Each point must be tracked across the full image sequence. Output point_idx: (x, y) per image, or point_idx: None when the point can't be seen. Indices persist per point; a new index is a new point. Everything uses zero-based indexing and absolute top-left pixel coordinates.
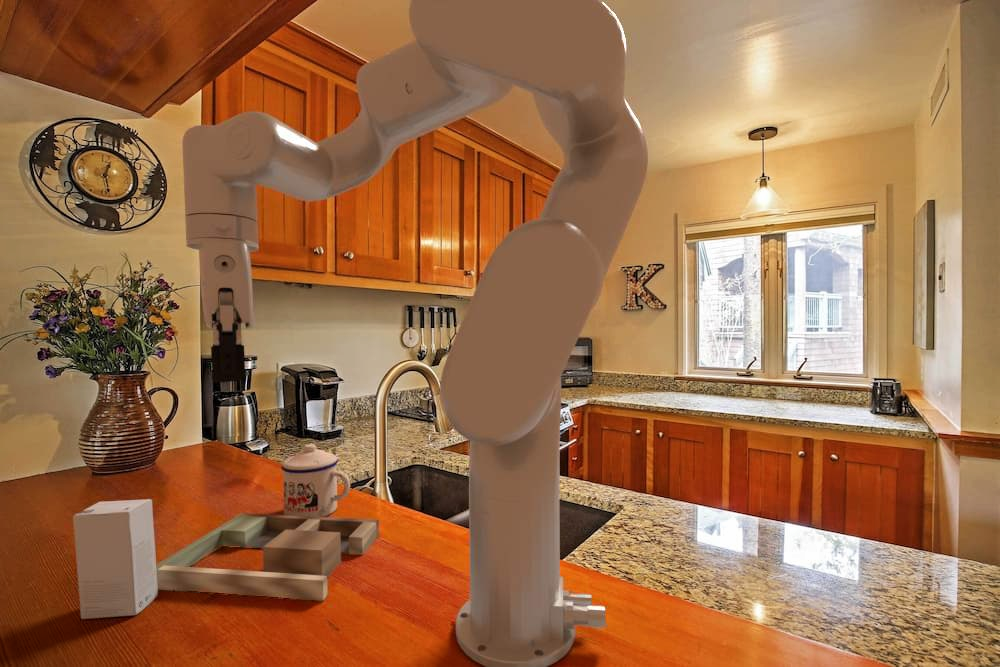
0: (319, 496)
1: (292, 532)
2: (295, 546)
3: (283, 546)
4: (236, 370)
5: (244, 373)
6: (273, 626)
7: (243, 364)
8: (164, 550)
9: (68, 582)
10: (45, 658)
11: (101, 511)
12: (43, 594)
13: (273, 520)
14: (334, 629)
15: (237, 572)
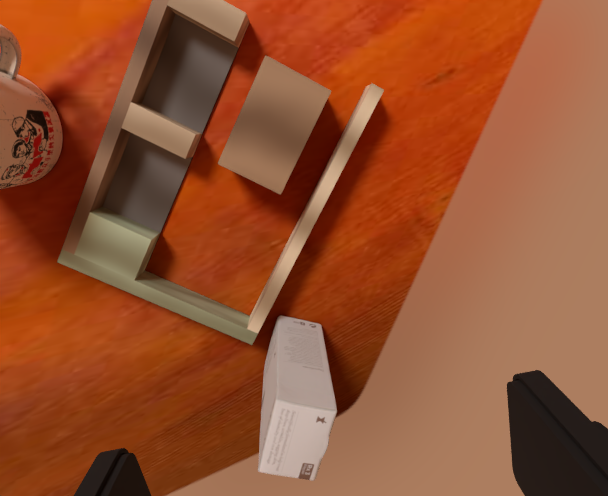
0: (27, 105)
1: (235, 149)
2: (299, 139)
3: (292, 160)
4: (599, 426)
5: (553, 386)
6: (409, 157)
7: (588, 422)
8: (134, 349)
9: (202, 428)
10: (369, 377)
11: (317, 451)
12: (226, 439)
13: (98, 197)
14: (450, 75)
15: (308, 223)
